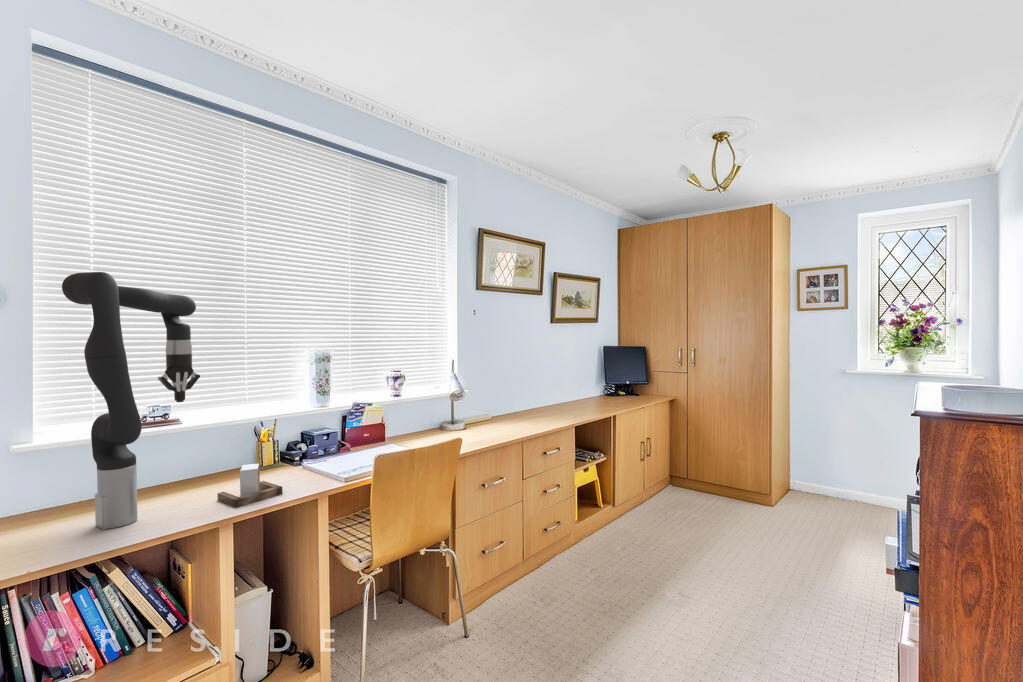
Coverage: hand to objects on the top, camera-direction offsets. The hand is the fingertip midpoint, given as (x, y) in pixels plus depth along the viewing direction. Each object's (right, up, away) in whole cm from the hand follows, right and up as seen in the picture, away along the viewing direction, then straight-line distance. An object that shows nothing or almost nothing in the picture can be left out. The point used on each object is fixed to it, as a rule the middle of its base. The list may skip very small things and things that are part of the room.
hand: (180, 401), depth 170 cm
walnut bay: (+26, -33, -2) cm, 42 cm away
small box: (+26, -33, -1) cm, 42 cm away
